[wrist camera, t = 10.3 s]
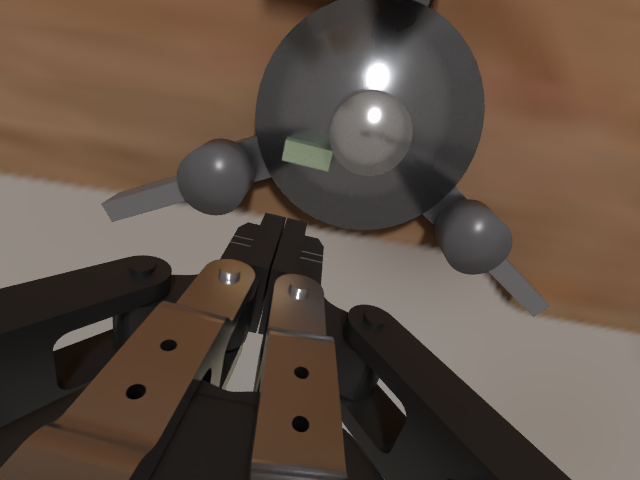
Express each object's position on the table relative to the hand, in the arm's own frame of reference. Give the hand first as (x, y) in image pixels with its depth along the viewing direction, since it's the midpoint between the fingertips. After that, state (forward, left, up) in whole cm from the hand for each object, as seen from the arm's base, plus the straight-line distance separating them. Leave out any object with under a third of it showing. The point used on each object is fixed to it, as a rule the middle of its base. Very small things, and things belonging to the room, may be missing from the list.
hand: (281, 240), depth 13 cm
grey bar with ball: (-15, +4, -14) cm, 21 cm away
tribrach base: (-3, -5, -15) cm, 16 cm away
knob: (+8, +4, -14) cm, 17 cm away
